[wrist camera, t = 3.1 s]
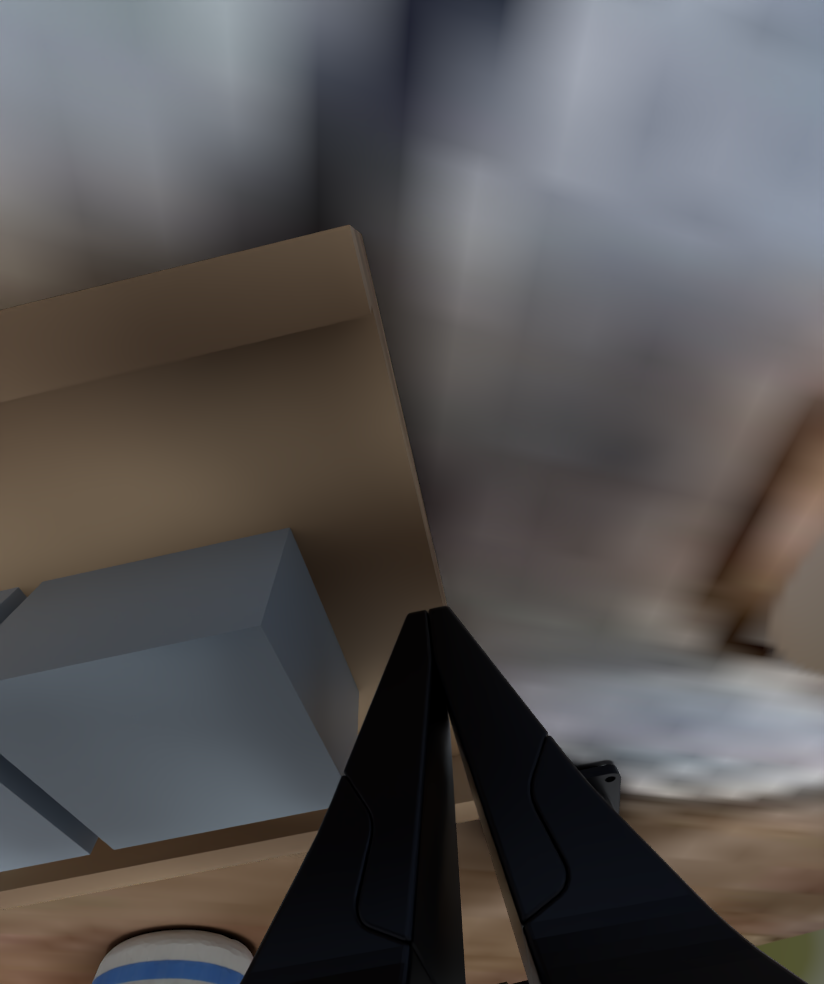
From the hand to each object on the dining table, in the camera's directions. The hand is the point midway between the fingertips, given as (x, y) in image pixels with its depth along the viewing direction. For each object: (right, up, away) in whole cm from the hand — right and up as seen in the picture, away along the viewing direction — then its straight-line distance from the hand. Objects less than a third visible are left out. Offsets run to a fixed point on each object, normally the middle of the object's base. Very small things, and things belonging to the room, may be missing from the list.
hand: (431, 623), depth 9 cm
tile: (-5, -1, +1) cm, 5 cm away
